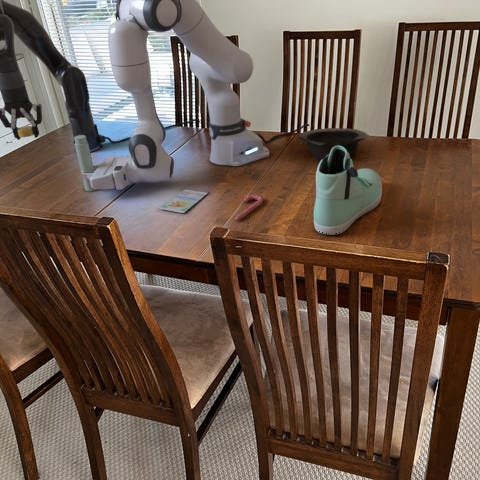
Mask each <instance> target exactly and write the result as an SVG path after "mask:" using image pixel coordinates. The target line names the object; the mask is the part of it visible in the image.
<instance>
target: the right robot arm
mask: <svg viewBox="0 0 480 480" xmlns="http://www.w3.org/2000/svg"><path fill="white" fill-rule="evenodd" d="M114 17H115V21H114V22H112V23H110V25H109V27H108V29H107V43H108V45H107V46H108V53H109V54H108V55H109V60H110V66H111V71H112V75H113V78H114V80H115V83H116V85H117V86H118V87H119V88H121V90H123V91H125V92H127V93H129V94H131V96H132V98H133V103H134V107H135V111H136V115H137V123H136V127H135V128H134V131H133V133H132V135H131V136H130V137H131V138H130V139H129V140H128V146H127V147H128V152H129V155H130V156H124V155H107V156H105V157H104V158H103V160H102V161H101V162H100V163H96V164H93V168H94V173H92V174H91V173H88V172H84V173H83V174H82V173H81V178H82V180H83V179H89V180H90V184H91V187H92V188H93V189H97V190H112V189H116V190H117V191H118V190H119V191H120V190H123V189H125V188H126V187H127V186H130V185H131V184H139V183H142V182H143V183H149V184H150V183H159V182H165V181H168V180H170V179H171V178H172V177H173V174H174V169H175V168H174V167H175V161H174V157H173V156H171V155H170V154H169V153H168V152H167V151H166V149H165V148H164V147H163V145H162V144H163V142H164V141H165V139H166V129H164V127H165V126H164V124H163V123H162V121H161V119H160V118H159V116H158V112H157V109H156V104H155V98H154V93H153V88H152V74H151V73H152V70H151V62H150V56H149V51H148V42H147V41H148V36H149V34H150V32H155V33H165V32H168V31H171V30H172V31H173V33H174V34H175V35H176V36H177V38H178V39H179V41H181V43H182V44H183V45H184V47H185V48H186V49H187V51H189V53H190V56H189V60H188V61H189V62H188V64H189V69H190V71H191V73H192V74H193V75H194V76H195V78H196V79H198V82H199V83H200V85H201V87H202V89H203V92H204V95H205V97H206V101H207V107H208V115H209V122H208V130H209V136H210V154H209V161H210V162H211V163H212V164H215V165H218V166H232V167H241V166H243V165H247V164H249V163H253V162H256V161H259V160H261V159H264V158H267V157H270V156H271V153H270V150H269V148H267V147H266V146H264V144H268V143H270V142H272V141H273V140H274V139H277V138H279V137H280V138H281V137H285V136H289V135H291V134H292V135H293V134H294V133H297V132H298V131H300V130H303V129H304V128H305V127H306V126H307V127H310V124H309V123H307V122H306V123H304V124H302V125H301V126H300V127H298V128H296V129H294V130H292V131H289V132H286V133H285V132H284V133H281V134H276V135H274V136H272V137H271V138H270V139H269V140H266V139H265V138H264V136H262V135H261V133H260V132H254V131H252V130H250V129H248V128H250V127H251V121H249V120H246V119H244V118H242V117H241V105H240V103H241V102H240V97H239V96H238V94H237V93H236V92H235V91H234V90H233V88H232V87H231V85H235V84H236V85H237V84H243V83H246V82H248V81H249V79H250V78H251V77H252V75H253V73H254V72H253V71H254V60H253V58H252V56H251V55H250V54H249V52H246V51H244V50H242V49H241V48H240V47H238V46H237V45H236V44H234V43H233V42H232V41H231V40H230V39H229V38H227V36H225V34H223V33H222V32H221V31H220V30H219V29H218V28H217V27H216V25H215V24H214V23H213V22H212V20H211V19H210V17H209V16H208V14H207V13H206V12H205V10H204V9H203V7H202V6H201V4H200V3H199V2H198V1H197V0H116V3H115V15H114ZM263 143H264V144H263Z"/></svg>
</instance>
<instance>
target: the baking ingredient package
mask: <svg viewBox="0 0 480 480" xmlns="http://www.w3.org/2000/svg"><path fill="white" fill-rule="evenodd" d="M207 194H208V192H206V191H199V190H194V189H188V188H184V189H183V190H182V191H180V192H179V193H177V194H176V195H175V196H174V197H173V198H171V199H169V200H168V201H167V202H165V203H164V204H163V205H161V206H160V207H159V208H158V209H160V210H166V211H169V212H175V213H180V214H184V213H186V212H187V211H188V210H190V208H192V207H193V206H194V205H195V204H196V203H198V202H199V201H200V200H202V198H204V197H205V196H206V195H207Z"/></svg>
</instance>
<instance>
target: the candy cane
mask: <svg viewBox="0 0 480 480" xmlns="http://www.w3.org/2000/svg"><path fill="white" fill-rule="evenodd" d="M252 200H255V201H256V202H253V204H251V205H250V206H248V207H247V208H245V209H244V210H243V211H242V212H239V214H237V215H236V216H235V219H234V220H235V221H238V222H239V221H240V220H242V219H243V218H244V217H245V216H247V215H248V214H249V213H251V212H252V211H254V210H255V209H256V208H258V207H259V206H260V205H262V204H263V202H264V199H263V197H262V196H260V195H257V194H251V195H247V196H245V197H243V203H245V204H246V203H248V202H249V201H252Z"/></svg>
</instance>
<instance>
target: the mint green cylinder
mask: <svg viewBox="0 0 480 480" xmlns="http://www.w3.org/2000/svg"><path fill="white" fill-rule="evenodd" d="M74 139H75V145H74V147H75V152H76V157H77V161H78V164H79V169H80V173H81V175H82V174H83V173H84V172H88V173H91V174H92V173H94V172H95V171H94V168H93V165H94V164H93V159H92V154H91V152H90V149H89V145H88V141H86V136H85V135H79V136H76V137H74V138H73V140H74ZM82 181H83V185H84V190H85V191H86V192H94V191H97V190H98V189H93V188H92V187H91V184H90V180H89V179H83V178H82Z"/></svg>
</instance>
